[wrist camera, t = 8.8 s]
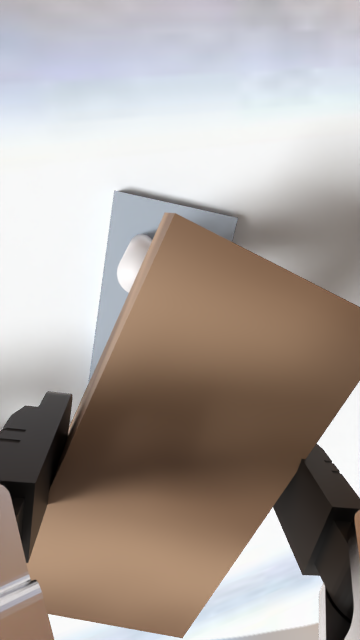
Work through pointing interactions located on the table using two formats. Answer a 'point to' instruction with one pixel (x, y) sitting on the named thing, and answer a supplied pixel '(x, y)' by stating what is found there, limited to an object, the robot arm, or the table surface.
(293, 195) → the table surface
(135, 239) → the peg stand
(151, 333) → the brown wooden block
